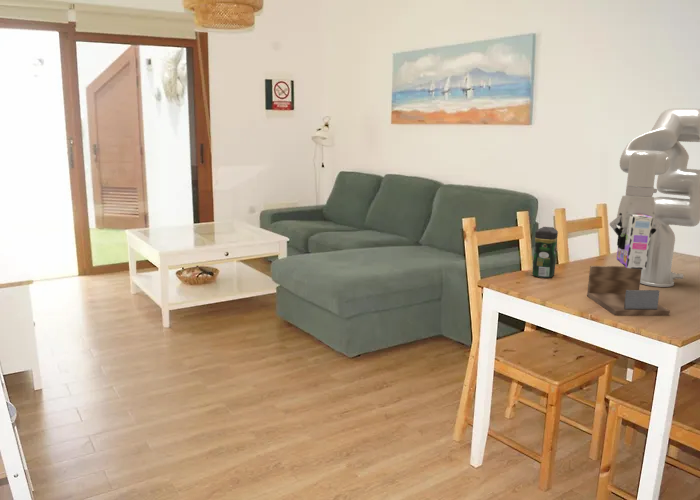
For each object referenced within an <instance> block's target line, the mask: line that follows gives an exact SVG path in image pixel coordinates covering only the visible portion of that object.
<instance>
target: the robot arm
mask: <svg viewBox="0 0 700 500" xmlns="http://www.w3.org/2000/svg"><path fill="white" fill-rule="evenodd" d="M681 142H685V143H686V142H687V143H688V142H689V143H700V108H669V109H666V110H664V111H663V112H661V113H660V115H659V116H658V117H657V119H656V122H655V123H654V125H653V127H652V129H651V130H650V131H648V132H645V133H643V134H640V135H638V136H637V137H634V138H633V139H631V140H630V141H629V142H628V143H627V145H626V146H625V147H624V150H623V151H622V153H621V155H620V157H619V168H620V170H621V171H622V172H623V173H626V174H627V181H626V186H625V187H626V188H625V195H622V196H621V199H620V201H619V206H618V208H617V209H618V210H617V214H616V218H615V219H613V220H612V221H610V223H609V226H610V228H611V229H612V231H614V233H615V234H616V236H617V244H616V245H617V249H618V248H620V249H624V248H625V240H626V237H624V235H625V234H626V232H627V228H628V223H629V218H630V215H632V214H644V215H649V216H651V217H653V221H652V228H651V235H650V242H649V249H648V256H647V264H646V269H645V270H644V269H642V271H641V279H640V285H641V284H642V285H645V286H649V287H650V286H651V287H657V288H669V287H673V286H674V285H675V281H674V280H676V279H677V280H678V279H679V280H681V279H684V277H685V276H684V274H683V273H676V272H673V271H672V266H673V259H674V258H673V257H674V252H675V250H674V249H675V244H676V235H675V232H674V231H673V229H672V227H671V226H679V227H690V228H691V227H696V226H698V225H699V224H700V169H694V168H688V163H689V159H690V156H689V153H688V151H687V149H686V148H685V147H684V146H683V145H682V144H681ZM656 176H657V179H656V178H655V177H656ZM655 179H656V188H655V187H654V186H655ZM657 192H658V193H660V194H665V195H670V196H671V195H673V196H680V197H681V196H683V197H689V198H680V197H669V196H656V197H654V194H657Z"/></svg>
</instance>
